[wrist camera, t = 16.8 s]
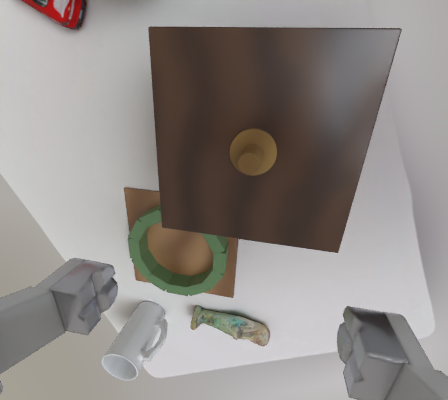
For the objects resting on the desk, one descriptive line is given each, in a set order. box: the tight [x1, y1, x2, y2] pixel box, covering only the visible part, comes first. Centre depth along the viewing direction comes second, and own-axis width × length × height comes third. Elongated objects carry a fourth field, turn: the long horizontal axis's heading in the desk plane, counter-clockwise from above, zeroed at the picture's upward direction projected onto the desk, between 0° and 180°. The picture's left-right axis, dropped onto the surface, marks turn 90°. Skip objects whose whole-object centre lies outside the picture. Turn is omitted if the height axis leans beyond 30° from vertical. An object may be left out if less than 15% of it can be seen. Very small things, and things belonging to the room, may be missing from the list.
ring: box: [128, 205, 229, 296], centre depth 42 cm, size 17×17×3 cm
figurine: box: [191, 306, 270, 346], centre depth 47 cm, size 6×15×4 cm, turn 75°
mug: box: [102, 301, 168, 380], centre depth 47 cm, size 10×7×12 cm, turn 109°
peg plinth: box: [149, 27, 401, 253], centre depth 26 cm, size 18×18×18 cm
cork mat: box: [124, 188, 238, 298], centre depth 44 cm, size 20×20×1 cm
